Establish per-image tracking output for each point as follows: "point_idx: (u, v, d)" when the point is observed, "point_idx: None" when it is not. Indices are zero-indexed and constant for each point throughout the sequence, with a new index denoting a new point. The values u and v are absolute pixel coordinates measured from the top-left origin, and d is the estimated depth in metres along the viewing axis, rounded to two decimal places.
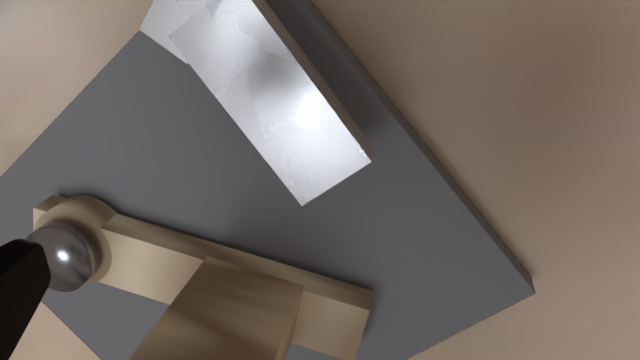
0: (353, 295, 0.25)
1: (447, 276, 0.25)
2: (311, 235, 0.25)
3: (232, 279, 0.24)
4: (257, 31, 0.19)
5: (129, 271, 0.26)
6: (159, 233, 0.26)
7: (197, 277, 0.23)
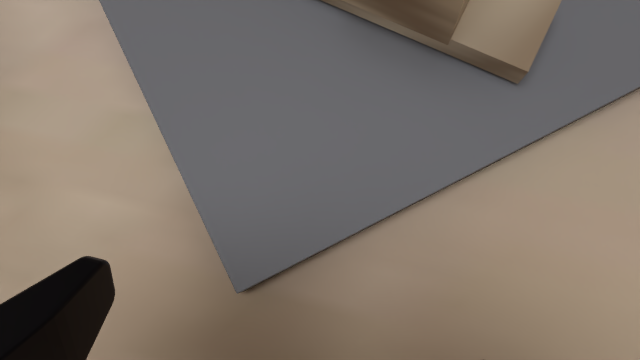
0: None
1: (635, 10, 0.22)
2: None
3: None
4: None
5: None
6: None
7: None
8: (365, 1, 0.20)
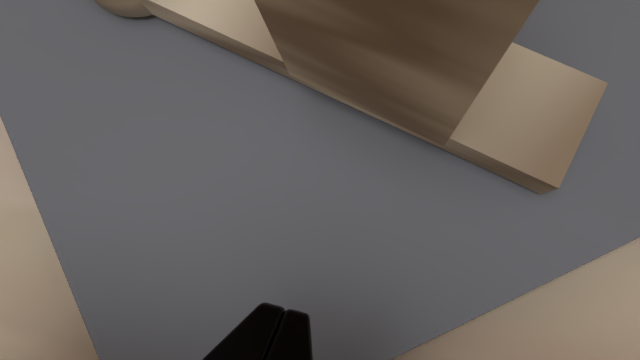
0: None
1: None
2: None
3: None
4: None
5: None
6: None
7: None
8: (325, 83, 0.14)
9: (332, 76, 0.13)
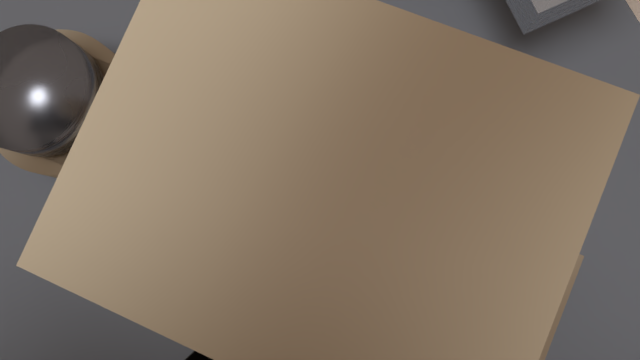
0: None
1: None
2: None
3: None
4: None
5: None
6: None
7: None
8: None
9: None
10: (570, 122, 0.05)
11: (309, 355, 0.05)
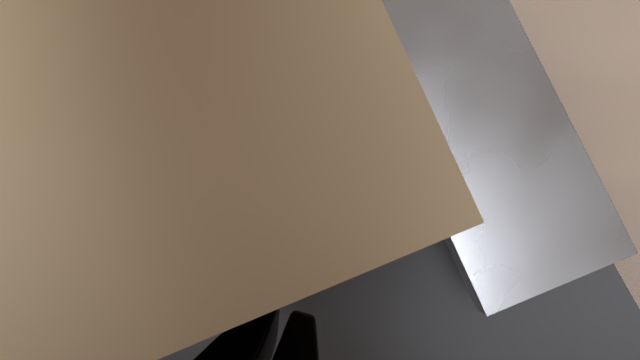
0: None
1: None
2: None
3: None
4: (486, 6, 0.12)
5: None
6: None
7: None
8: None
9: None
10: None
11: (262, 263, 0.04)
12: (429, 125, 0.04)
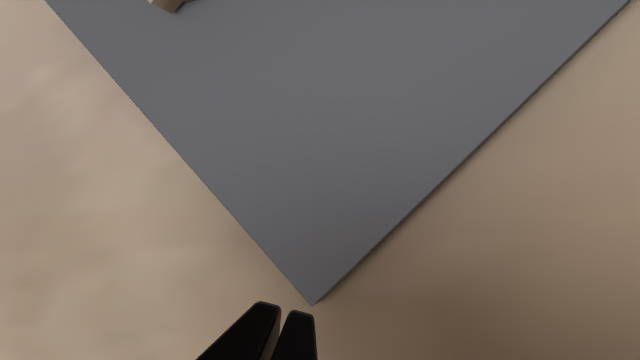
0: None
1: None
2: None
3: None
4: None
5: None
6: None
7: None
8: None
9: None
10: None
11: None
12: None
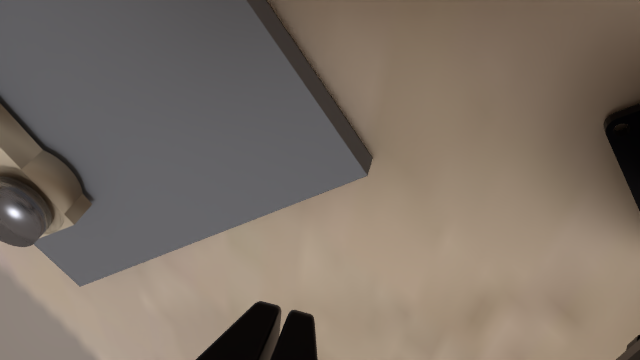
0: None
1: None
2: None
3: None
4: None
5: None
6: None
7: None
8: None
9: None
10: None
11: None
12: None
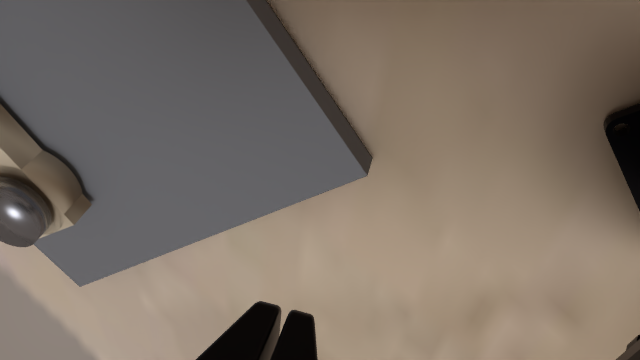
0: None
1: None
2: None
3: None
4: None
5: None
6: None
7: None
8: None
9: None
10: None
11: None
12: None
